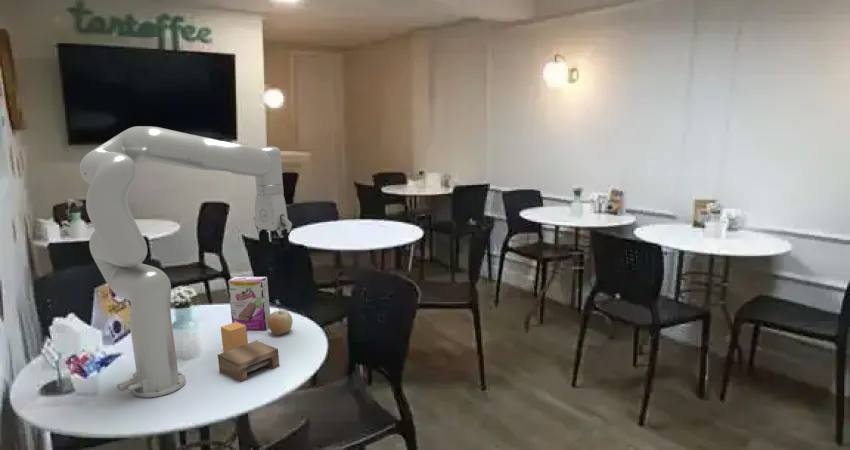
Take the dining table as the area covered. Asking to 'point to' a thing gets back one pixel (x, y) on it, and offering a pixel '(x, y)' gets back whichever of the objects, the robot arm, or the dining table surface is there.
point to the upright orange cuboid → (233, 336)
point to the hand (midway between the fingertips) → (274, 248)
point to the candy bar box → (249, 302)
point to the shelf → (247, 359)
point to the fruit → (280, 322)
